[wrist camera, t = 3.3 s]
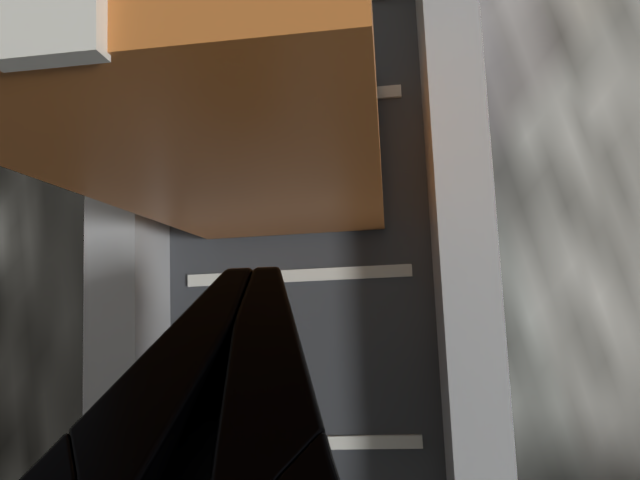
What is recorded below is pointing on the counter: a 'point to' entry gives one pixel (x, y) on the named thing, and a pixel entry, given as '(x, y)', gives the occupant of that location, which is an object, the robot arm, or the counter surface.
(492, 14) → the counter surface
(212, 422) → the robot arm
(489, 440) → the fader console
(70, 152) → the fader knob
